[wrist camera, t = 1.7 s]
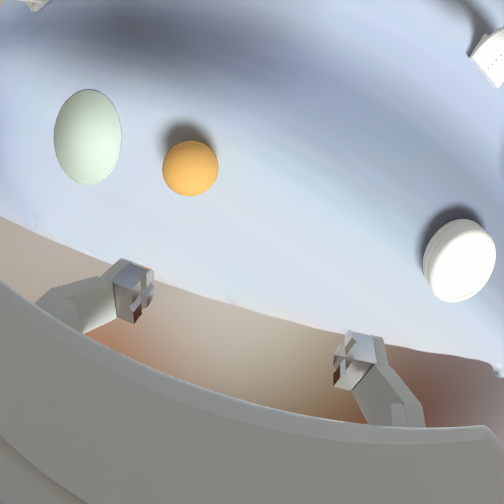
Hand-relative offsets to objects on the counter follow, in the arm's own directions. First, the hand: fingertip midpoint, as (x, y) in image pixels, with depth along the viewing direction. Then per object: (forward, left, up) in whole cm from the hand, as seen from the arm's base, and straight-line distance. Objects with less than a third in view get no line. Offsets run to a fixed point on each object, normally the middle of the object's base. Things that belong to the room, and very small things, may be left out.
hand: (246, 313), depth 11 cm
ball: (-8, -4, -17) cm, 19 cm away
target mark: (-24, -12, -20) cm, 33 cm away
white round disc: (+21, +9, -20) cm, 30 cm away
